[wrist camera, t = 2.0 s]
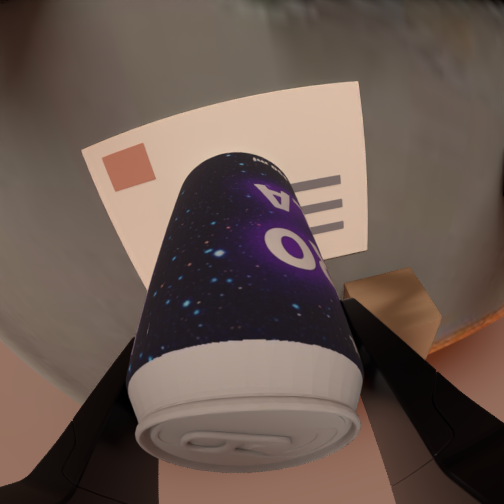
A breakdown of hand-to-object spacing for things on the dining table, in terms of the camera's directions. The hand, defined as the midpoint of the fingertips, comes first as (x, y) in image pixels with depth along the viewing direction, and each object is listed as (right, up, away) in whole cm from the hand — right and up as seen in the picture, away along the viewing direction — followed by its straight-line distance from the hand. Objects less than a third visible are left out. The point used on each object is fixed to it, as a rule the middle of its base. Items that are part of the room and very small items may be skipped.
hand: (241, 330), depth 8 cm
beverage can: (-1, +5, +7) cm, 8 cm away
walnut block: (+9, -1, +12) cm, 15 cm away
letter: (-1, +5, +7) cm, 8 cm away
